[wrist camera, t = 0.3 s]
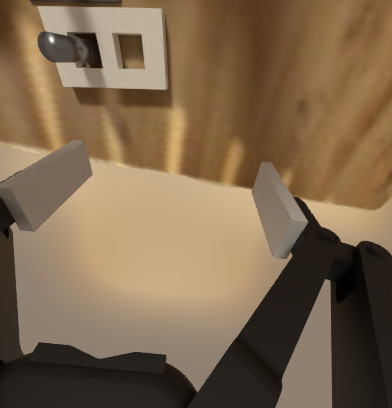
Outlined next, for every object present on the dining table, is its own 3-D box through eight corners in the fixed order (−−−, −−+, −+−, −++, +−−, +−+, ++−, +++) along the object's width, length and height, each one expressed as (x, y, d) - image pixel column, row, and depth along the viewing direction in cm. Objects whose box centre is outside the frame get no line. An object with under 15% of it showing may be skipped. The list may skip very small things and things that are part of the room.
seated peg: (81, 39, 32) (33, 31, 23) (99, 40, 32) (57, 31, 23) (87, 62, 34) (44, 62, 25) (104, 62, 34) (67, 62, 25)
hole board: (48, 9, 30) (37, 6, 28) (164, 12, 30) (161, 8, 28) (71, 85, 36) (63, 86, 34) (168, 88, 36) (166, 89, 34)
